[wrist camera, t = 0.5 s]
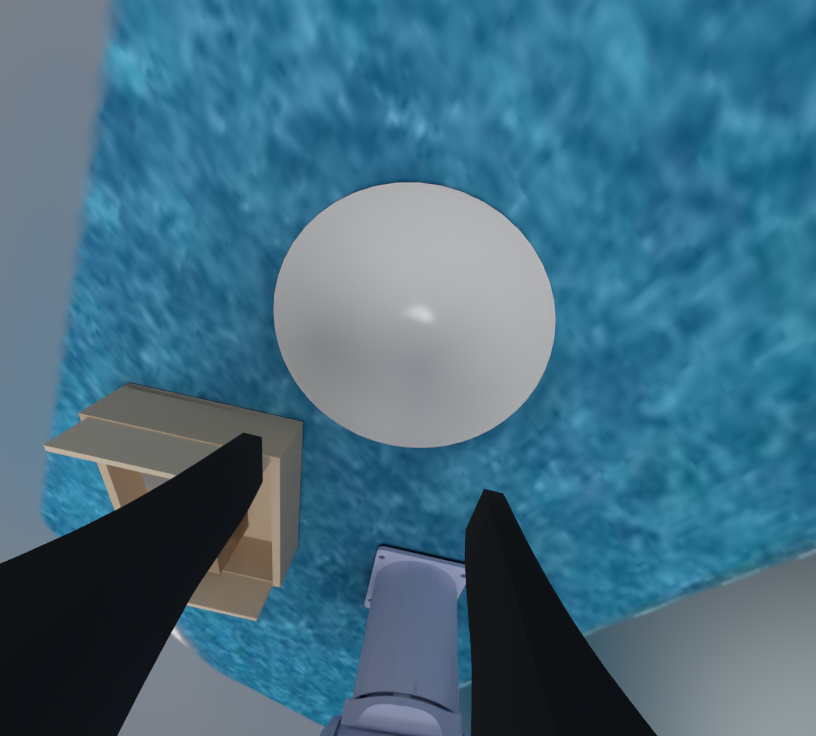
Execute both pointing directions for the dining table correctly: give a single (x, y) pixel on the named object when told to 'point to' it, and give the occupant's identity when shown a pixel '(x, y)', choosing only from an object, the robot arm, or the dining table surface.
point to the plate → (414, 315)
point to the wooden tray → (180, 449)
